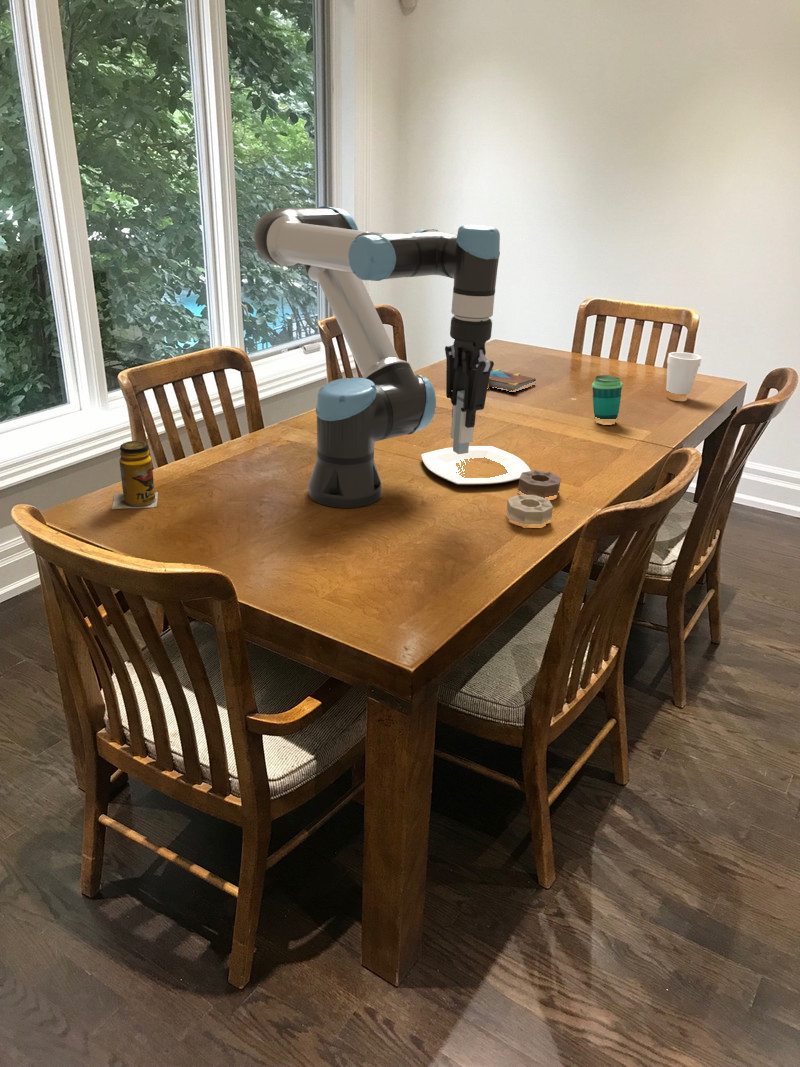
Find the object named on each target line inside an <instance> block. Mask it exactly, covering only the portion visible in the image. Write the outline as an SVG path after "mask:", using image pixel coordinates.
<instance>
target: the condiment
mask: <svg viewBox="0 0 800 1067" xmlns="http://www.w3.org/2000/svg"><path fill="white" fill-rule="evenodd" d="M119 450H120V458H119V469H120V477H121V478H120V479H121V488H122V493H119V492H118V493H114V494H113V502H112V507H111V510H117V509H118V510H121V509H147V508H149V509H150V508H157V506H158V499H159V498H158V497H159V495H158V494H159V492H158V491H156V490H155V489H156V488H155V480H154V471H153V470H154V469H153V459H152V456H150V450H149V445H148V443H147V442H145V441H142V440H141V441H140V440H130V441H126V442H123V443H122V444H121V445H120V446H119Z"/></svg>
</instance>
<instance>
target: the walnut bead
mask: <svg viewBox="0 0 800 1067" xmlns="http://www.w3.org/2000/svg"><path fill="white" fill-rule="evenodd" d="M561 480H562V478H561V477H560V476H558V475H557V474H554V473H552V472H551V471H550V472H549V471H542V470H537V469H534V470H531V471H528V472H522V474H521V476H520V478H519V479H518V487H517V488H518V489H517V491H518V490H519V491H521V492H522V493H524V494H526V495H536V496H539V497H543V498H545V497H549V496H554V495H557V494H558V491H559V492H560V488H561ZM558 495H559V494H558Z"/></svg>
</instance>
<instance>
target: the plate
mask: <svg viewBox="0 0 800 1067" xmlns="http://www.w3.org/2000/svg"><path fill="white" fill-rule="evenodd" d="M420 456H421V459H422V462H423V464H424V466H425V467H426V468H427V469H428V471H430V472H431V473H433V474H434V475H436V476H438V477H439V478H441V479H444V480H446V481H448V482H450V483H453V484H455V485H457V486H482V485H484V486H485V485H495V484H496V485H497V484H504V483H510V482H513V481H517V480H518V481H519V478H520V476H521V474H522V472H528V471H532V470H531V468H530V467H529V465H527V463H526V462H525V461H524V460H522V459H521V458H520V457H518V456H516V455H515V454H513V453H510V452H508V451H506V450H503V449H500V448H498V447H495V446H493V445H469V450H468V453H464V454H457V453H456V452H454V451H453V446H452V447H445V448H441V449H436V450H432V451H427V452H424V453H421V454H420ZM484 457H485V458H487V459H490V460H492V461H495V462H497V463H500V464H501V465H503V466H504V467H505V469H506V470H507V472H508V473H506V474H503V475H499V476H495V477H490V478H464V477H465V476H464V477H462V476H461V475H462V474H461V475H459V474H460V473H461V472H462V471H463V472H464V471H465V469H464V470H463V466H464V465H463V466H462V468H461V469H462V471H461V472H459V471H460V469H459V470H458V467H459V466H458V467H457V466H456V463H459V465H460V467H461V461H462V462H463V461H464V463H465V465H466V462H465V460H464V459H468V461H469V459H470V458H472V459H474V458H484ZM460 460H461V461H460ZM469 462H470V461H469ZM456 472H457V473H456ZM458 472H459V473H458ZM463 474H465V473H463Z"/></svg>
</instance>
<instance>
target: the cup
mask: <svg viewBox="0 0 800 1067" xmlns="http://www.w3.org/2000/svg"><path fill="white" fill-rule="evenodd" d="M623 386H624V383H623V382H622V381H621V378H619V377H617V376H613V375H607V374H604V375H603V374H602V375H597V376H595V379H594V381H593V382H592V383H591V388H592V403H593V414H594V418H595V417H597V418H600V419H616V418H617V417H618V415H619V412H620V406H621V397H622V390H623ZM617 419H618V418H617Z"/></svg>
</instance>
